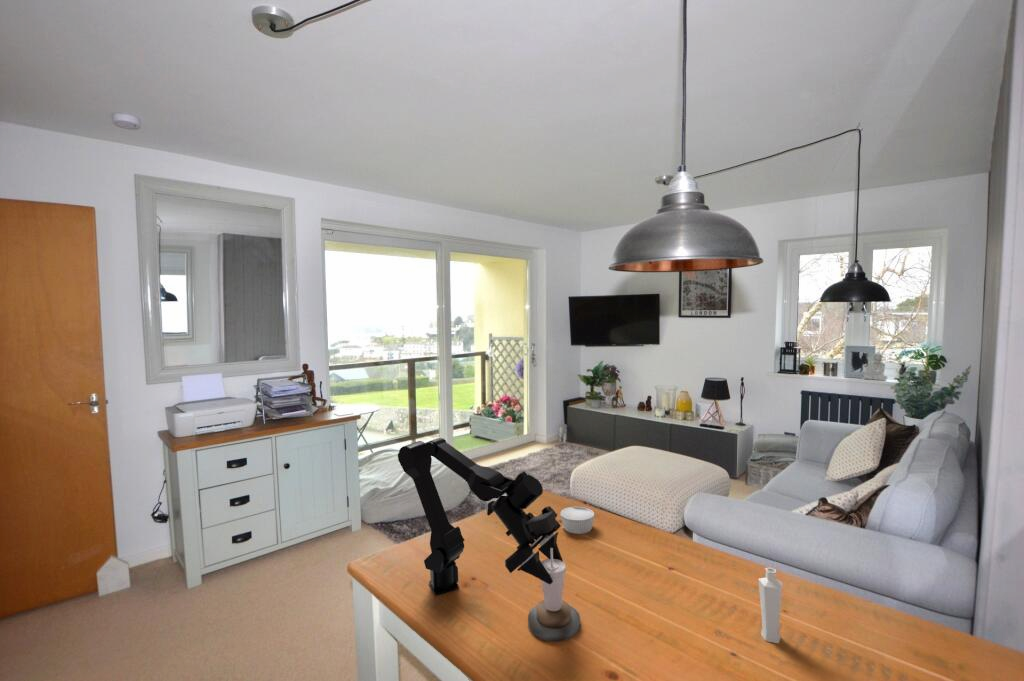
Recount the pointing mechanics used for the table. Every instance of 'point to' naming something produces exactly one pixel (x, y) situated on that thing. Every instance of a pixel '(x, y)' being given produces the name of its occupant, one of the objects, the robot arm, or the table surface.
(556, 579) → the white drink cup
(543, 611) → the pedestal
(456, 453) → the robot arm
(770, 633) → the perfume bottle
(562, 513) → the ramekin
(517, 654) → the table surface
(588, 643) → the table surface
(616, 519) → the table surface
